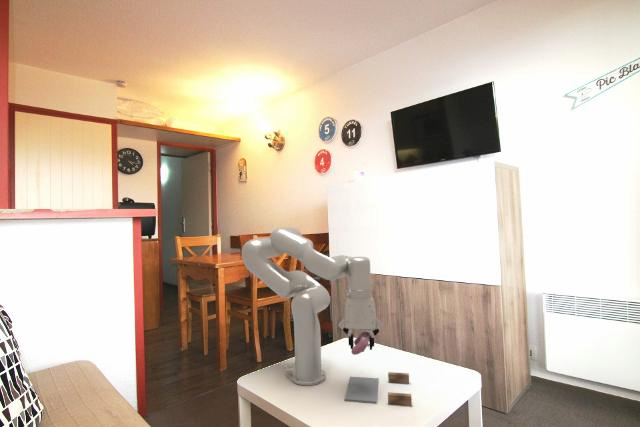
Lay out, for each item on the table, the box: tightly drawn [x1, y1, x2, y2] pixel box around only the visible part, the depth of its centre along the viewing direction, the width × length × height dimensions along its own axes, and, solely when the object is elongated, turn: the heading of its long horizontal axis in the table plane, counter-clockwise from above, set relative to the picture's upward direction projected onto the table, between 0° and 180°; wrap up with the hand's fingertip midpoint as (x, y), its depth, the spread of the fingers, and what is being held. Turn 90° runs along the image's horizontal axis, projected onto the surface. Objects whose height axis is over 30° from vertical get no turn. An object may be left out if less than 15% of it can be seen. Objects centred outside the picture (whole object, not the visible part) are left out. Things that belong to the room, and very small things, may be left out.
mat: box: [343, 376, 379, 405], centre depth 114 cm, size 10×16×1 cm, turn 168°
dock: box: [387, 371, 413, 408], centre depth 112 cm, size 7×16×3 cm, turn 168°
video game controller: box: [351, 330, 370, 355], centre depth 115 cm, size 10×5×7 cm, turn 168°
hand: (361, 347), depth 115 cm, fingers closed on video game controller, 5 cm apart
